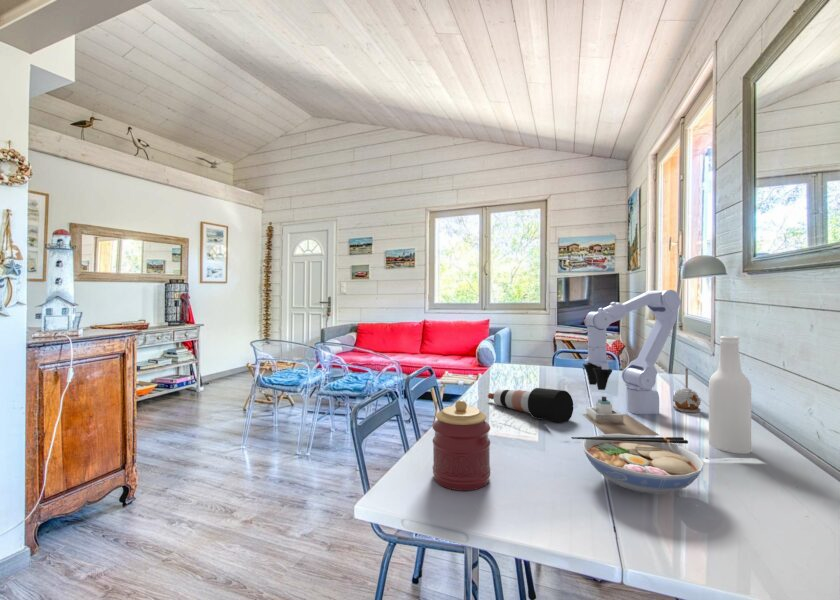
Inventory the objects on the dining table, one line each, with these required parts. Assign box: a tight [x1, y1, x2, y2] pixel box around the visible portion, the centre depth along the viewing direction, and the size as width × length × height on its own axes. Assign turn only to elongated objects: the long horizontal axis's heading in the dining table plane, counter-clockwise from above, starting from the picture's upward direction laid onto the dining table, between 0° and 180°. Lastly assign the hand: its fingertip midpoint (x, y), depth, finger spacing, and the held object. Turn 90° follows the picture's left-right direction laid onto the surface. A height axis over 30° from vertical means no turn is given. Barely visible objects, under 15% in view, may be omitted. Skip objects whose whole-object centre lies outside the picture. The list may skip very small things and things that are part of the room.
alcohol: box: [708, 335, 752, 454], centre depth 104 cm, size 9×9×30 cm
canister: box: [432, 399, 492, 491], centre depth 89 cm, size 13×13×18 cm
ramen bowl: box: [571, 433, 705, 495], centre depth 85 cm, size 25×23×8 cm
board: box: [581, 413, 660, 436], centre depth 123 cm, size 15×20×1 cm
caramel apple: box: [672, 367, 702, 413], centre depth 140 cm, size 8×8×15 cm
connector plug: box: [595, 396, 613, 414], centre depth 128 cm, size 4×4×7 cm
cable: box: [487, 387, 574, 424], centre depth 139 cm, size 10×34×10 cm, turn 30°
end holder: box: [585, 406, 623, 423], centre depth 128 cm, size 8×8×2 cm
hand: (597, 387), depth 134 cm, fingers open, 7 cm apart
